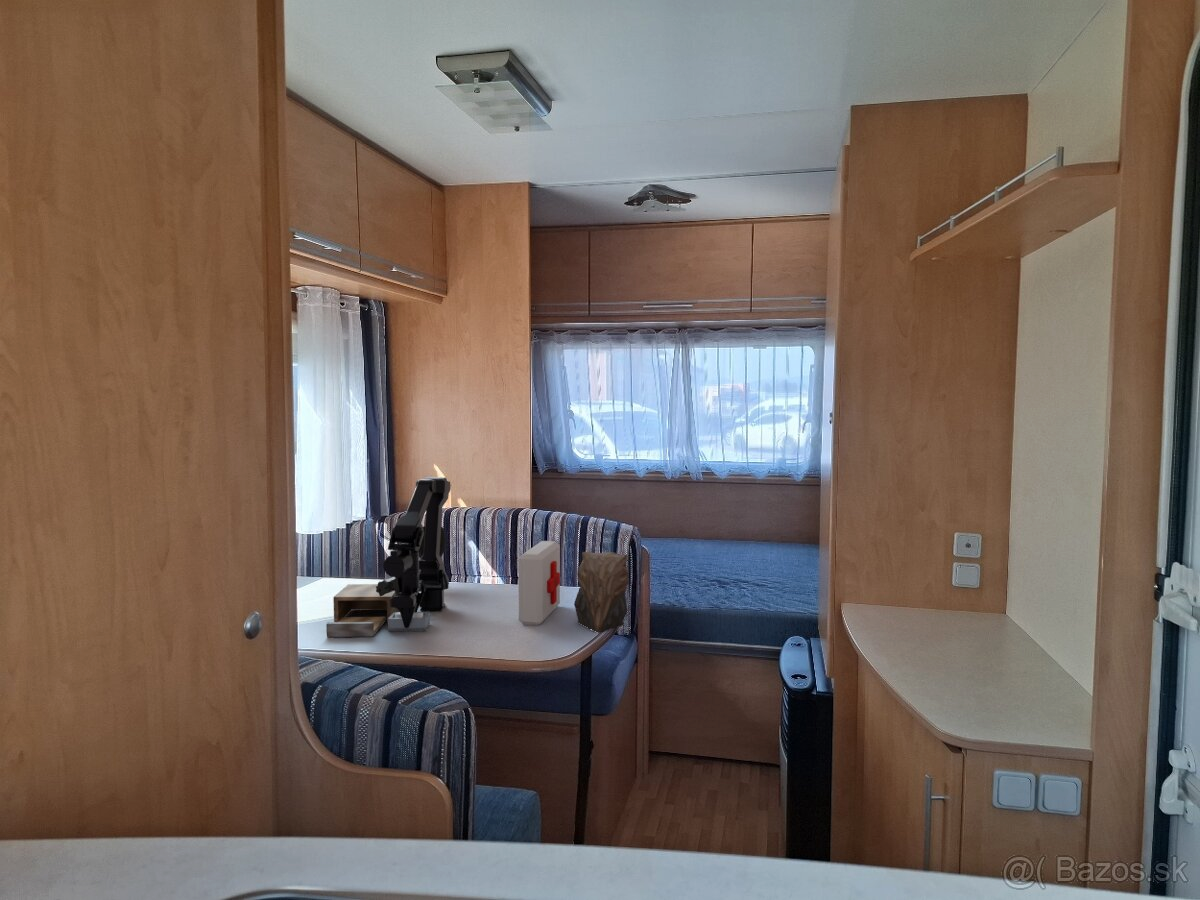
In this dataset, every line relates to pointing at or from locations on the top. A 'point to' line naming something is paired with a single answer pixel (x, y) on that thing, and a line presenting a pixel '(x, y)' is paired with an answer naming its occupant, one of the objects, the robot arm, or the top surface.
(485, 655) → the top surface
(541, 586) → the bevelled white case
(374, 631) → the shelf board
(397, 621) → the tray
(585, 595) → the owl
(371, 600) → the open wooden box
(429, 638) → the top surface
